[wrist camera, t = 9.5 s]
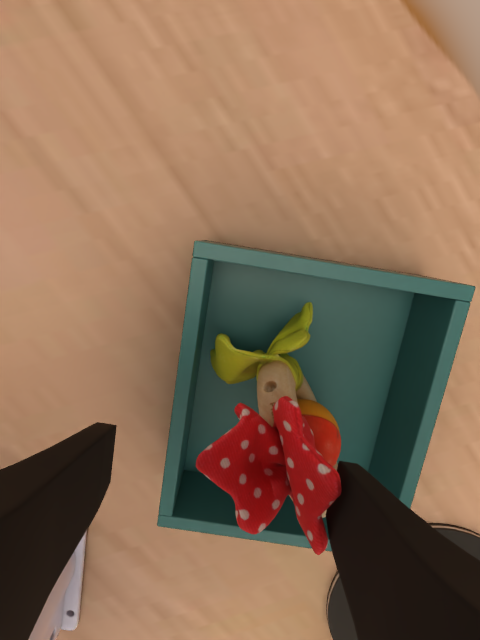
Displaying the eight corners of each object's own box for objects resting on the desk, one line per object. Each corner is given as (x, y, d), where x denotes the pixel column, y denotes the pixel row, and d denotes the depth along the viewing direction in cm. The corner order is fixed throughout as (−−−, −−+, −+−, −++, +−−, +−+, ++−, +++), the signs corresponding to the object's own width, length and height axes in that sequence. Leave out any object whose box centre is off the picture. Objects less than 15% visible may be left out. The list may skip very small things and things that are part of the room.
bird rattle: (348, 372, 23) (287, 259, 18) (466, 566, 14) (403, 441, 9) (261, 418, 24) (180, 321, 19) (316, 626, 15) (189, 542, 10)
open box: (366, 499, 24) (395, 561, 19) (173, 471, 24) (156, 526, 19) (425, 276, 21) (476, 286, 16) (205, 240, 21) (194, 240, 16)
